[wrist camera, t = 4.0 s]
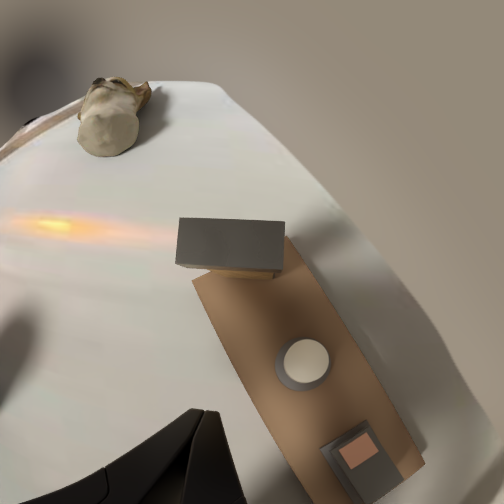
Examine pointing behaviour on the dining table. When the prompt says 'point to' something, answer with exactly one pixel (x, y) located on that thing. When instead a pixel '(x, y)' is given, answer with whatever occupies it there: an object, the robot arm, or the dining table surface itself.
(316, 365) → the push button
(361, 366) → the switch panel
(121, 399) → the dining table surface
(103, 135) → the ceramic sculpture
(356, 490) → the rocker switch
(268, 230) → the tan capped bar
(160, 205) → the dining table surface
